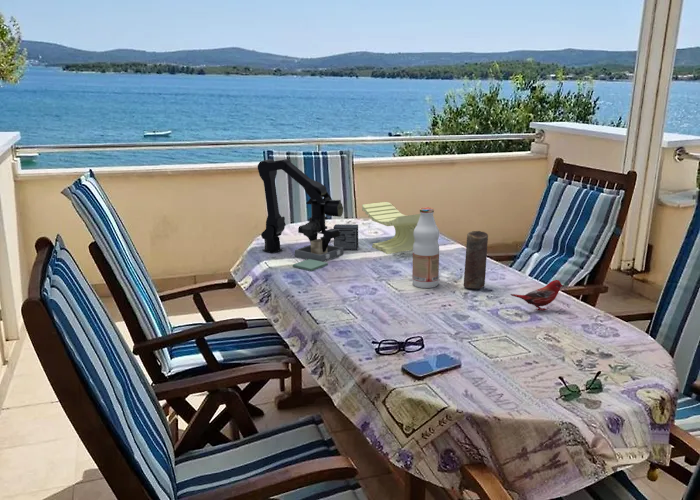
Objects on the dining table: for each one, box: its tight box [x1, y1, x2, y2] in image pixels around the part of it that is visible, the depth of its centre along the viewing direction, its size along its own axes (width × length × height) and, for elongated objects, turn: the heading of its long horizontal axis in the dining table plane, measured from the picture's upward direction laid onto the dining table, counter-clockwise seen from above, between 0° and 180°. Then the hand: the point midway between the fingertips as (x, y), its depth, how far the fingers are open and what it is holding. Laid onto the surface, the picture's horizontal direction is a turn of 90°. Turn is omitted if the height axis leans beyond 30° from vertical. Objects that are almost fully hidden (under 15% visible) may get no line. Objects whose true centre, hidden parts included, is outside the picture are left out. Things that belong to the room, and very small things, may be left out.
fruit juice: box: [411, 206, 440, 289], centre depth 216 cm, size 9×9×28 cm
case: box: [294, 244, 344, 262], centre depth 258 cm, size 15×15×3 cm
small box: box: [332, 223, 359, 251], centre depth 268 cm, size 11×6×10 cm, turn 84°
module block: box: [310, 238, 328, 255], centre depth 257 cm, size 5×5×6 cm
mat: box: [292, 259, 329, 272], centre depth 244 cm, size 10×10×1 cm
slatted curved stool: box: [361, 201, 421, 255], centre depth 266 cm, size 30×16×18 cm, turn 28°
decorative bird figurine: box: [510, 279, 564, 311], centre depth 192 cm, size 3×18×10 cm, turn 100°
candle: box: [463, 230, 489, 290], centre depth 213 cm, size 8×7×20 cm
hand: (319, 250), depth 258 cm, fingers closed on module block, 5 cm apart
